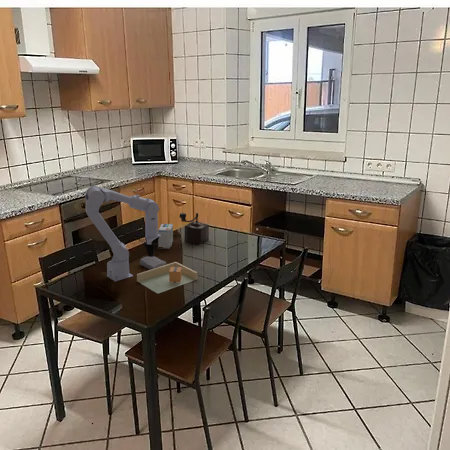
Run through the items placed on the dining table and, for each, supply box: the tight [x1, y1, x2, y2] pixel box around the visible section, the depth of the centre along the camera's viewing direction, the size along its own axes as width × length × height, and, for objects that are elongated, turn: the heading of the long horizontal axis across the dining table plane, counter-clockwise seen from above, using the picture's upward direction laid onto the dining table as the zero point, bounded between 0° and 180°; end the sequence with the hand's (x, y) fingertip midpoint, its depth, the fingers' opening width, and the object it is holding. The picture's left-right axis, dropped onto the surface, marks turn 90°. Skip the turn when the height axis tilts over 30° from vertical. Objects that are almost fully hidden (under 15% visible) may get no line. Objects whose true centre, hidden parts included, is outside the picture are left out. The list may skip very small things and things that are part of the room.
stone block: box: [139, 255, 167, 270], centre depth 217 cm, size 12×5×10 cm
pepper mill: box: [179, 212, 210, 246], centre depth 248 cm, size 16×11×18 cm
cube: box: [169, 267, 182, 282], centre depth 201 cm, size 5×5×5 cm
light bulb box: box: [157, 223, 174, 249], centre depth 243 cm, size 11×7×11 cm, turn 178°
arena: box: [136, 261, 198, 294], centre depth 201 cm, size 22×16×4 cm
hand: (152, 253), depth 208 cm, fingers open, 7 cm apart
